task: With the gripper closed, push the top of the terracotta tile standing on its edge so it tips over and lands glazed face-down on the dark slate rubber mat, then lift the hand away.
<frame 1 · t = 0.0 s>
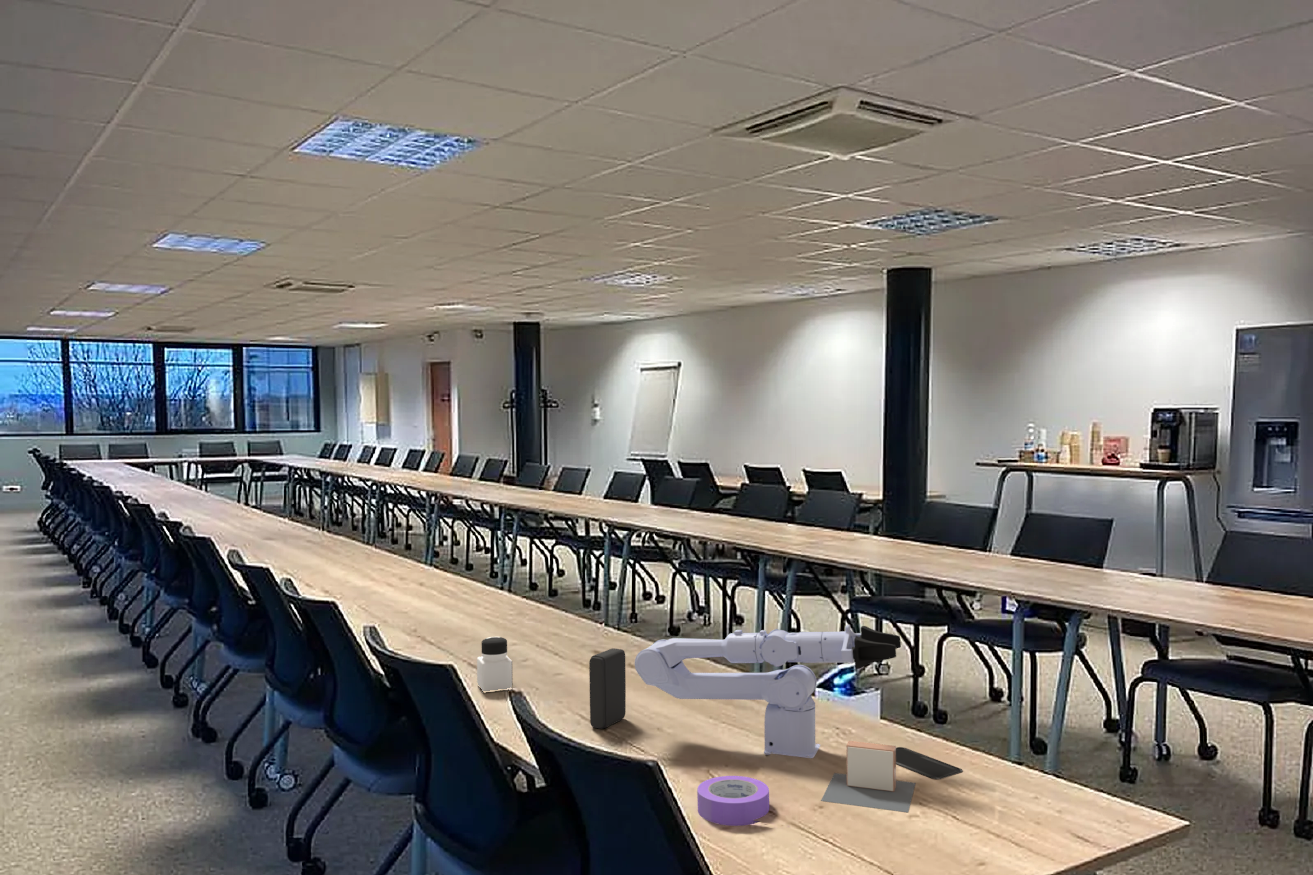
hand: (898, 646, 173), 22 cm above the table, tool horizontal, fingers open, 7 cm apart
masking tape: (733, 813, 153), on the table
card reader: (608, 724, 198), on the table
phone: (918, 769, 172), on the table
medicine bottle: (494, 689, 225), on the table
tile: (871, 786, 161), point 1 cm above the table, touching mat
mat: (869, 795, 159), on the table
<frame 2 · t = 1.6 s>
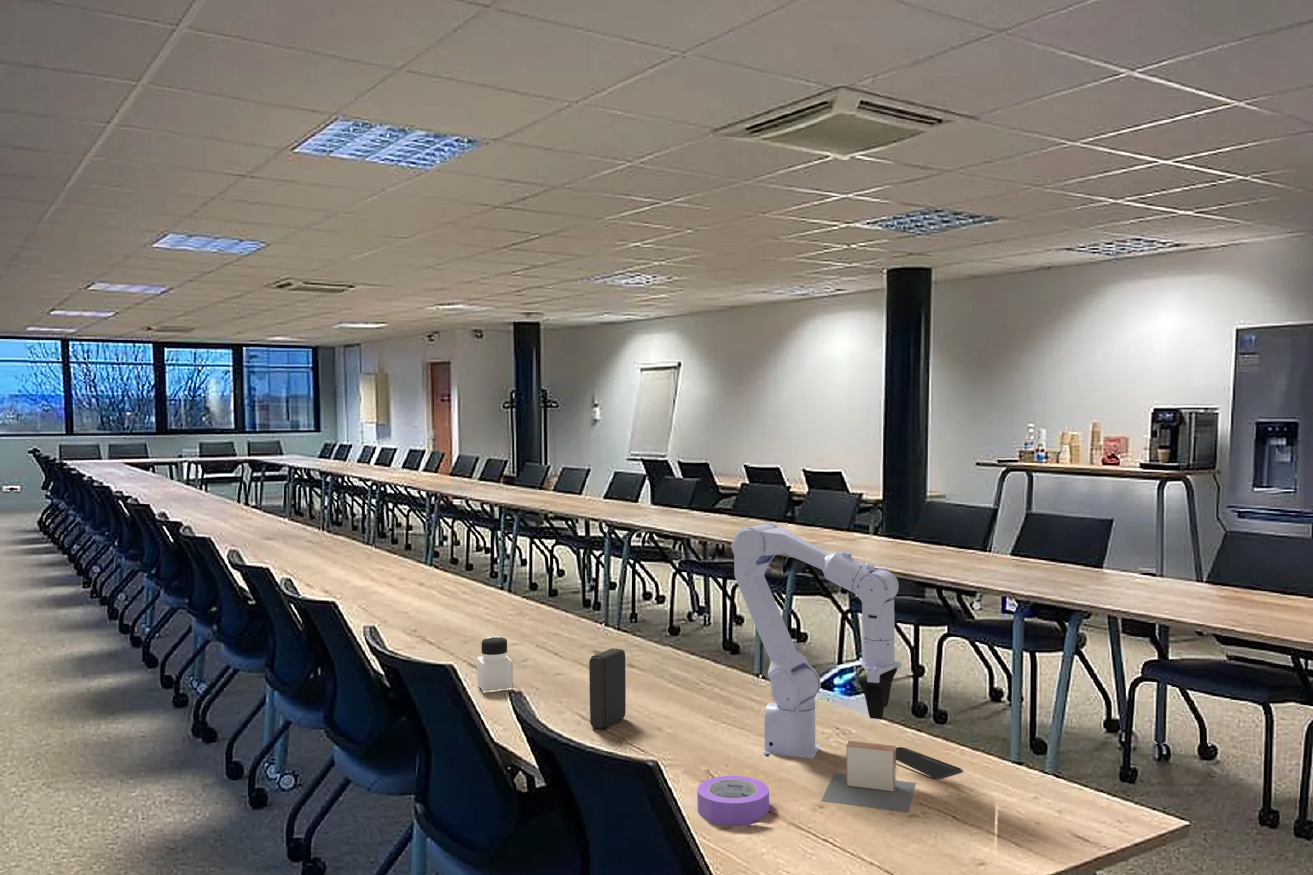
hand: (878, 712, 170), 10 cm above the table, tool pointing down, fingers open, 7 cm apart
nothing on the table moved.
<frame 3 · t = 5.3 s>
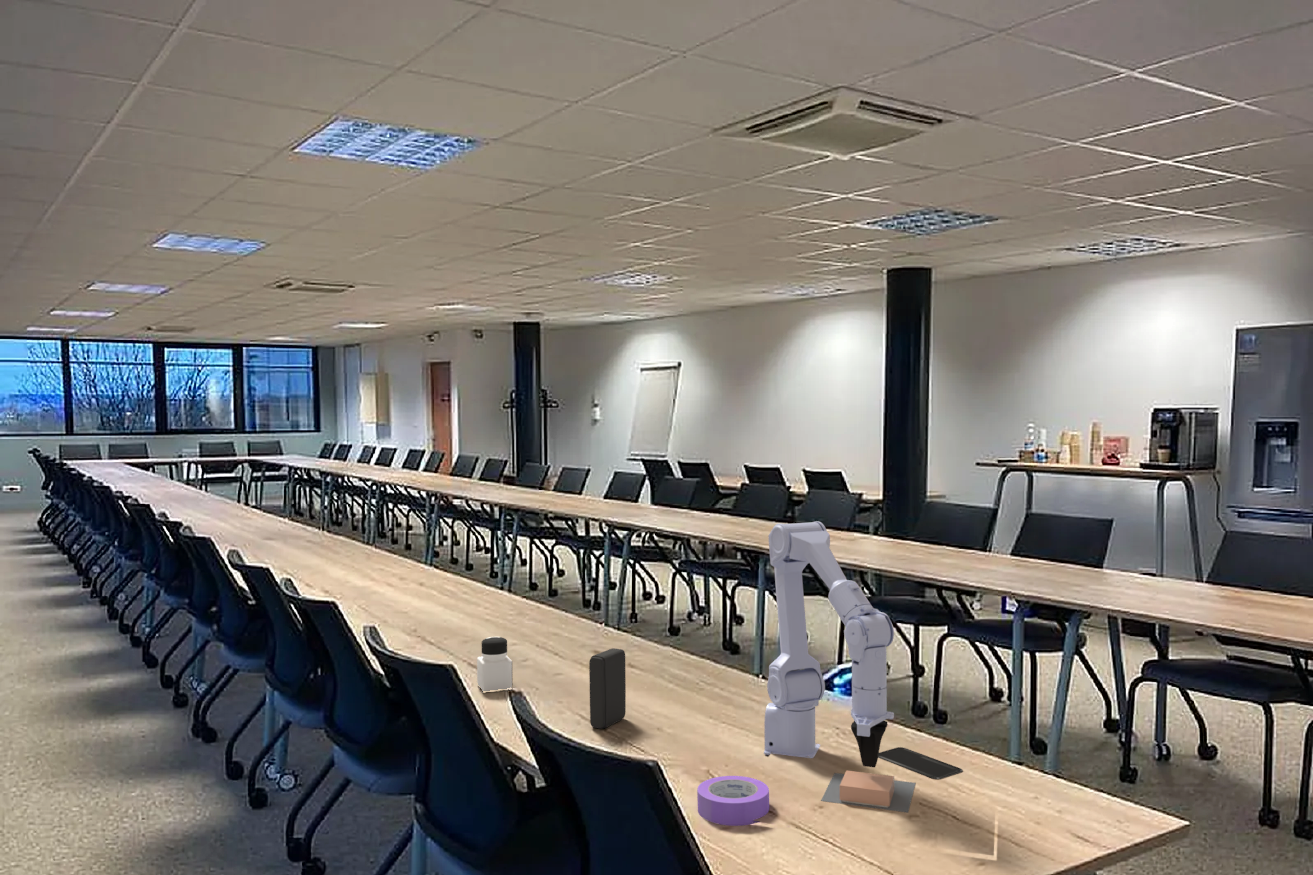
hand: (869, 765, 159), 5 cm above the table, tool pointing down, fingers closed
tile: (870, 780, 160), point 2 cm above the table, tilted 90°, touching mat
everything else where it was.
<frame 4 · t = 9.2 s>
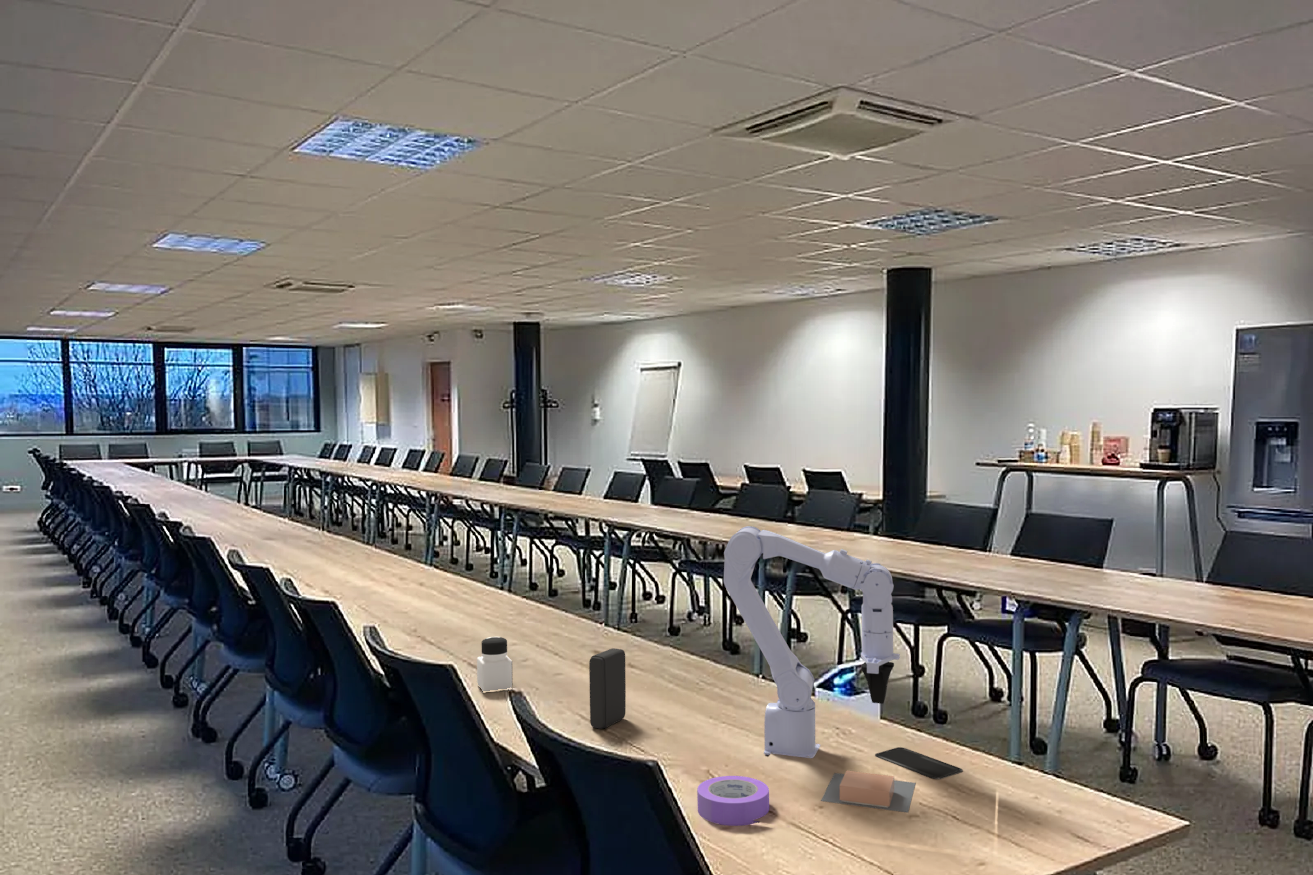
hand: (878, 702, 176), 10 cm above the table, tool pointing down, fingers closed
nothing on the table moved.
at the end: tile tilted 90°; tile inside the target area on the mat (1.1 cm from its centre), point 2.1 cm above the mat's base; the gripper is holding nothing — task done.
